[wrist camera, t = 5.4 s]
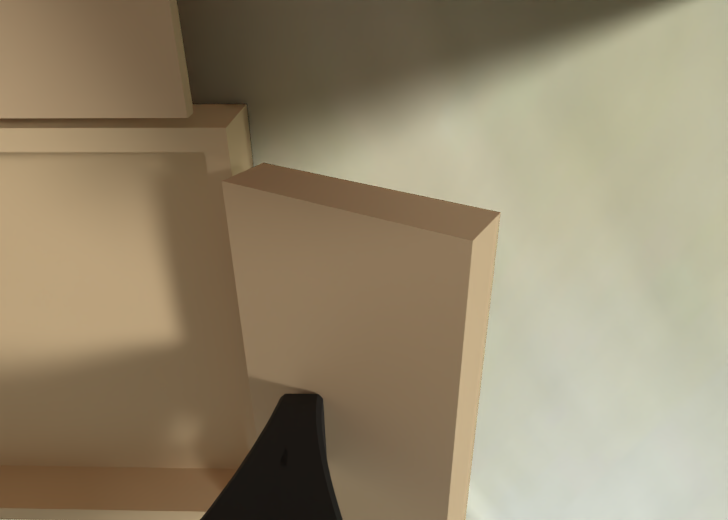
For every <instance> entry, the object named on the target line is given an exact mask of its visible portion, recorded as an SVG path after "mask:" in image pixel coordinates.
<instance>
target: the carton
mask: <svg viewBox="0 0 728 520" xmlns="http://www.w3.org/2000/svg"><path fill="white" fill-rule="evenodd" d="M250 168H253V158H252V149H251V139H250V130H249V121H248V111H247V104H192V98H191V92H190V85H189V78H188V72H187V65H186V59H185V52H184V45H183V39H182V32H181V26H180V19H179V12H178V6H177V0H0V519H20V520H200V519H201V518H202V517H203V515H204V514H205V513H206V512H207V510H208V509H209V508H210V506H211V505H212V504H213V502H214V501H215V500H216V498H217V497H218V496H219V494H220V493H221V492H222V490H223V489H224V488H225V486H226V485H227V484H228V482H229V481H230V479H231V478H232V477H233V475H234V474H235V472H236V471H237V470H238V468H239V466H240V465H241V463H242V462H243V460H244V459H245V457H246V456H247V454H248V453H249V451H250V450H251V448H252V447H253V445H254V444H255V442H256V440H257V437H256V430H255V423H254V415H253V408H252V401H251V393H250V386H249V378H248V371H247V364H246V356H245V349H244V342H243V334H242V327H241V320H240V312H239V305H238V298H237V290H236V283H235V276H234V268H233V261H232V254H231V246H230V239H229V232H228V224H227V217H226V210H225V202H224V195H223V188H222V181H223V180H225V179H227V178H229V177H232V176H234V175H236V174H239V173H241V172H243V171H246V170H248V169H250Z"/></svg>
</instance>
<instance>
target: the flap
mask: <svg viewBox="0 0 728 520" xmlns="http://www.w3.org/2000/svg"><path fill="white" fill-rule="evenodd" d="M222 188H223V195H224V202H225V210H226V217H227V224H228V232H229V239H230V246H231V254H232V261H233V268H234V276H235V283H236V290H237V298H238V305H239V312H240V320H241V327H242V334H243V342H244V349H245V356H246V364H247V371H248V378H249V386H250V393H251V401H252V408H253V415H254V423H255V430H256V437H257V439H258V437H259V435H260V434H261V432H262V430H263V429H264V427H265V425H266V424H267V422H268V420H269V418H270V417H271V415H272V413H273V411H274V409H275V407H276V405H277V403H278V401H279V399H280V397H282V396H283V395H284V394H319V395H320V396H321V397H322V398H323V404H324V420H325V436H326V452H327V462H328V467H329V471H330V476H331V480H332V484H333V488H334V492H335V495H336V499H337V502H338V506H339V509H340V512H341V516H342V519H343V520H465V518H466V509H467V500H468V491H469V483H470V474H471V465H472V457H473V448H474V439H475V430H476V422H477V413H478V404H479V396H480V387H481V378H482V369H483V361H484V352H485V343H486V335H487V326H488V317H489V308H490V300H491V291H492V282H493V274H494V265H495V256H496V247H497V239H498V230H499V221H500V213H501V212H496V211H491V210H486V209H481V208H477V207H472V206H467V205H462V204H458V203H453V202H448V201H443V200H438V199H434V198H429V197H424V196H419V195H415V194H410V193H405V192H400V191H396V190H391V189H386V188H381V187H376V186H372V185H367V184H362V183H357V182H353V181H348V180H343V179H338V178H333V177H329V176H324V175H319V174H314V173H310V172H305V171H300V170H295V169H290V168H286V167H281V166H276V165H271V164H267V163H262V164H259V165H257V166H255V167H253V168H250V169H248V170H246V171H243V172H241V173H239V174H236V175H234V176H232V177H229V178H227V179H225V180H223V181H222Z"/></svg>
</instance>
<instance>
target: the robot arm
mask: <svg viewBox="0 0 728 520" xmlns="http://www.w3.org/2000/svg"><path fill="white" fill-rule="evenodd" d="M200 520H343V519H342V516H341V512H340V509H339V506H338V502H337V499H336V495H335V492H334V488H333V484H332V480H331V476H330V471H329V467H328V462H327V452H326V436H325V420H324V404H323V398H322V397H321V396H320V395H319V394H284V395H283V396H282V397H280V399H279V401H278V403H277V405H276V407H275V409H274V411H273V413H272V415H271V417H270V418H269V420H268V422H267V424H266V425H265V427H264V429H263V430H262V432H261V434H260V435H259V437H258V439H257V440H256V442H255V444H254V445H253V447H252V448H251V450H250V451H249V453H248V454H247V456H246V457H245V459H244V460H243V462H242V463H241V465H240V466H239V468H238V470H237V471H236V472H235V474H234V475H233V477H232V478H231V479H230V481H229V482H228V484H227V485H226V486H225V488H224V489H223V490H222V492H221V493H220V494H219V496H218V497H217V498H216V500H215V501H214V502H213V504H212V505H211V506H210V508H209V509H208V510H207V512H206V513H205V514H204V515H203V517H202V518H201V519H200Z"/></svg>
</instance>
